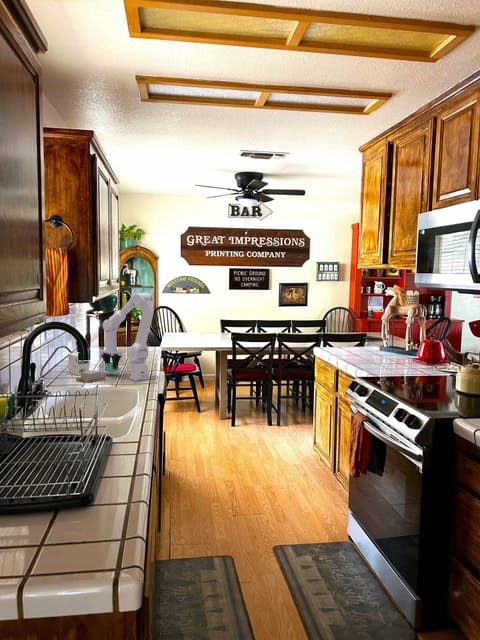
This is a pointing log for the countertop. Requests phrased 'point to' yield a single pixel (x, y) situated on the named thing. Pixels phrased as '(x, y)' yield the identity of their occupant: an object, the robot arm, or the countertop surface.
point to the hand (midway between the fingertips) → (111, 368)
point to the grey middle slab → (90, 374)
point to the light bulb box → (77, 364)
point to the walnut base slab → (86, 380)
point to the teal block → (110, 367)
